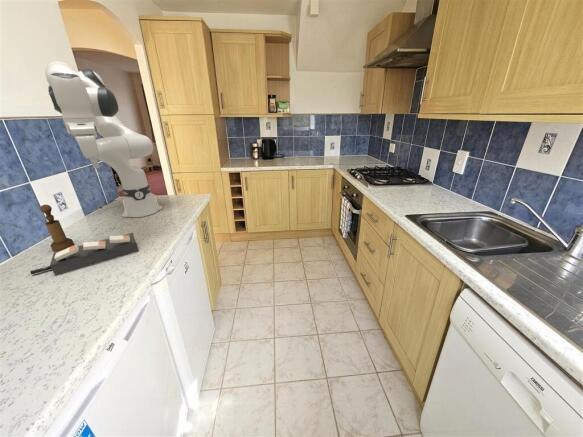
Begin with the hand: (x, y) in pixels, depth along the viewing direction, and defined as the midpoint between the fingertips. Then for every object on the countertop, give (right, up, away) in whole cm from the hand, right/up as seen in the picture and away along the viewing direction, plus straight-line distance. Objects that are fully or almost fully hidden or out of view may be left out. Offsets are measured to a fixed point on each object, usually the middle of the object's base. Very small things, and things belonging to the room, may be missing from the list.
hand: (96, 167), depth 89 cm
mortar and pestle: (-19, -30, +8) cm, 37 cm away
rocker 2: (+8, -26, +1) cm, 27 cm away
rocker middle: (+2, -28, -3) cm, 28 cm away
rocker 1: (-4, -30, -7) cm, 31 cm away
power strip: (-2, -33, -1) cm, 33 cm away
